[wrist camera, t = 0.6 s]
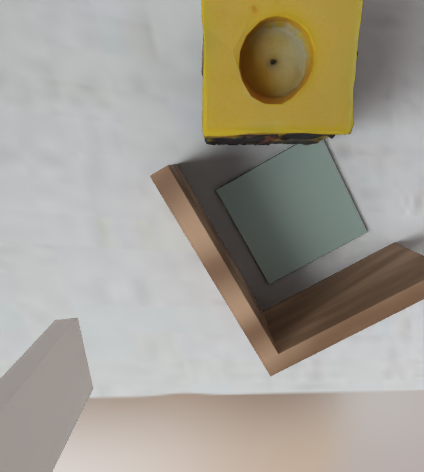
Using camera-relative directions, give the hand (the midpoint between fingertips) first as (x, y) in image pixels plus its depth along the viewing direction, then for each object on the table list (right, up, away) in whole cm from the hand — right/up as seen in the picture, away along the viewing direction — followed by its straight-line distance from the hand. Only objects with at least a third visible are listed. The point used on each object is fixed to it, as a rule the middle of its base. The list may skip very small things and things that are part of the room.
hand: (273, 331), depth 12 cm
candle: (+2, +17, +20) cm, 26 cm away
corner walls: (+5, +6, +22) cm, 23 cm away
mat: (+6, +6, +22) cm, 24 cm away
